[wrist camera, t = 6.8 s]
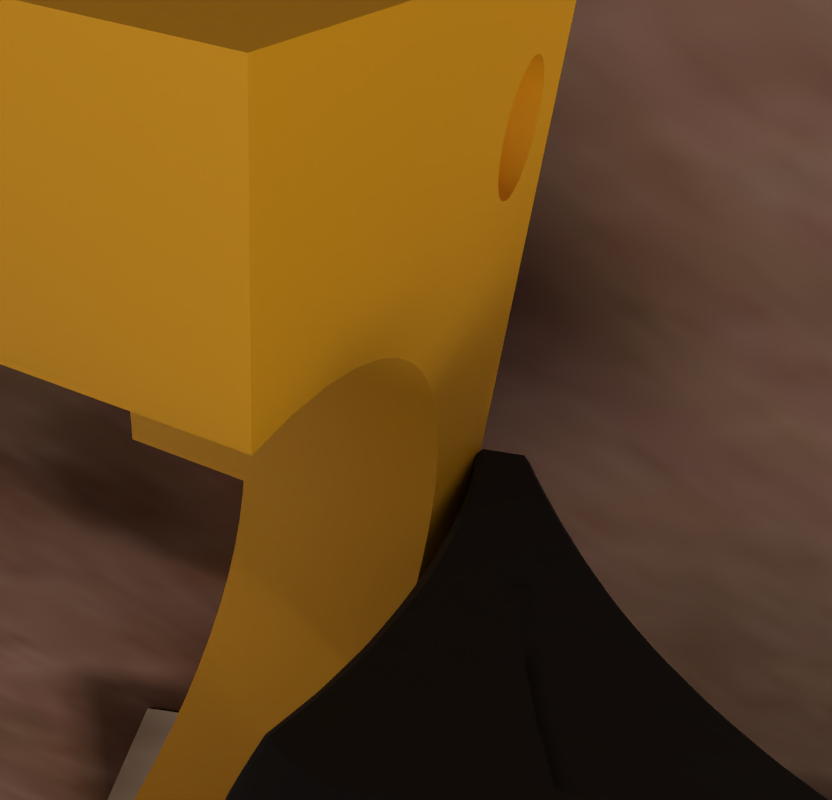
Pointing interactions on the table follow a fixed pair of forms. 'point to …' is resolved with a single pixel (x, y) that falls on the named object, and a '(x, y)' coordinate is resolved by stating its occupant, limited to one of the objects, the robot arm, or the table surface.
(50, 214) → the pipe clamp
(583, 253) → the table surface
